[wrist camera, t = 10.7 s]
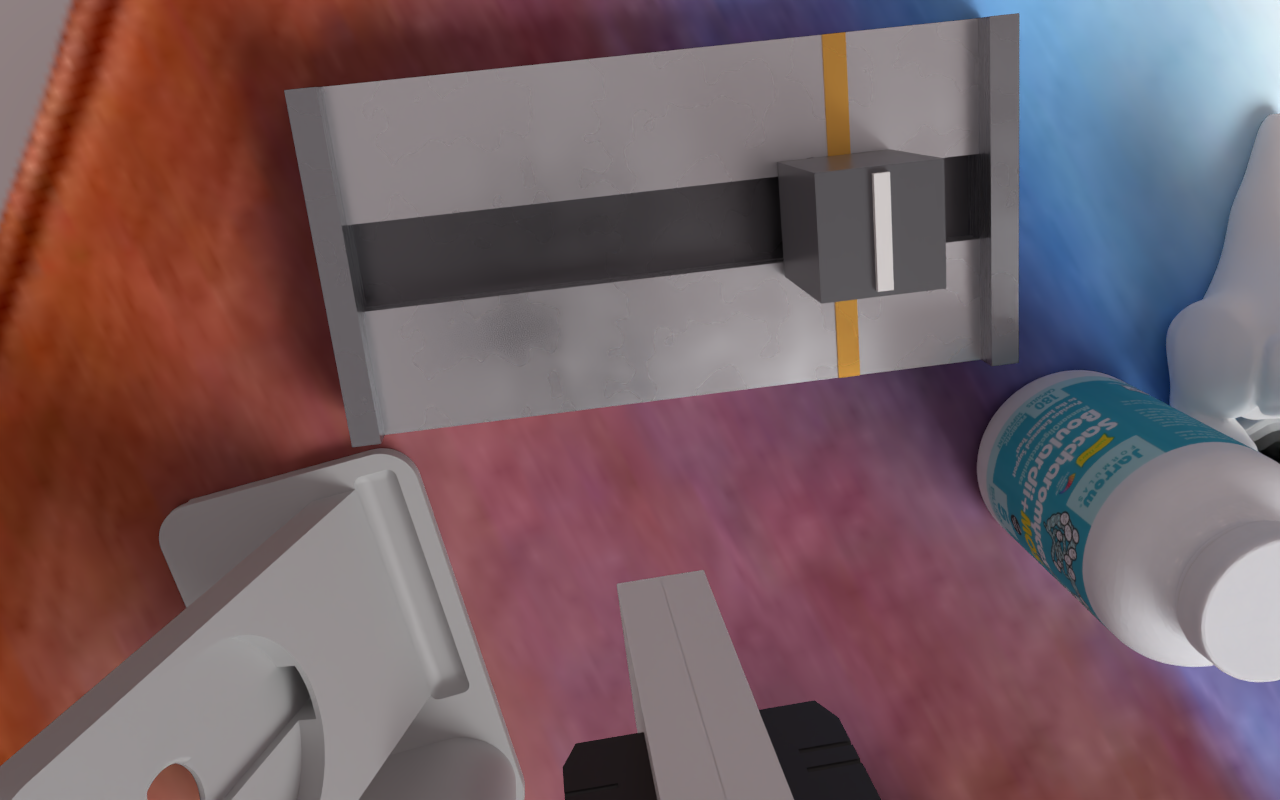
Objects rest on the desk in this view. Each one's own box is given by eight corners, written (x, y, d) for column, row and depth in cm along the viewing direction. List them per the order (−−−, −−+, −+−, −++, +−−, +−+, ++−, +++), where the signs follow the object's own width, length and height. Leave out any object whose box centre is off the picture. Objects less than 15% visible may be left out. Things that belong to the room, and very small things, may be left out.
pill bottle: (1001, 348, 42) (1212, 464, 29) (1170, 383, 43) (1447, 511, 30) (945, 522, 44) (1120, 706, 31) (1109, 552, 45) (1344, 740, 32)
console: (364, 421, 40) (351, 447, 37) (303, 89, 36) (284, 90, 34) (985, 343, 41) (1018, 362, 39) (982, 19, 38) (1019, 13, 35)
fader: (779, 272, 39) (823, 305, 33) (772, 160, 37) (816, 173, 32) (886, 259, 39) (948, 289, 33) (883, 147, 38) (946, 158, 32)
